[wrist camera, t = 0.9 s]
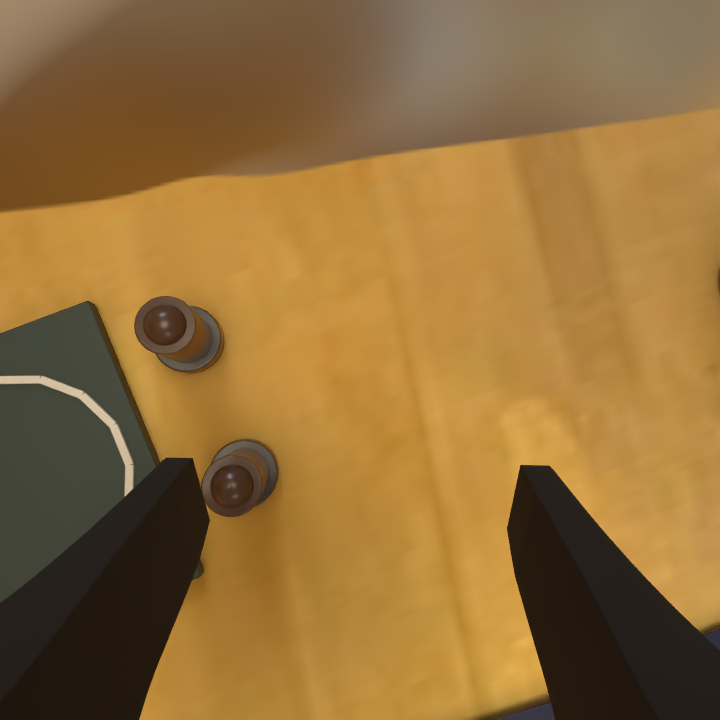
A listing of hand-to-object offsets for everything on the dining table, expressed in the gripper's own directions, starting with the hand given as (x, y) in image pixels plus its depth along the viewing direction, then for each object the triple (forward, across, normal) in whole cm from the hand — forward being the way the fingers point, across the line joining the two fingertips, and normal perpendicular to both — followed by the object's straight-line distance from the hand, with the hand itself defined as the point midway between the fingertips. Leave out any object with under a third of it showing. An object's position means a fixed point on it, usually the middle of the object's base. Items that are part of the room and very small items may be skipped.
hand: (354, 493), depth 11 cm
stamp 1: (+13, +9, +3) cm, 16 cm away
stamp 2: (+9, +6, +9) cm, 14 cm away
